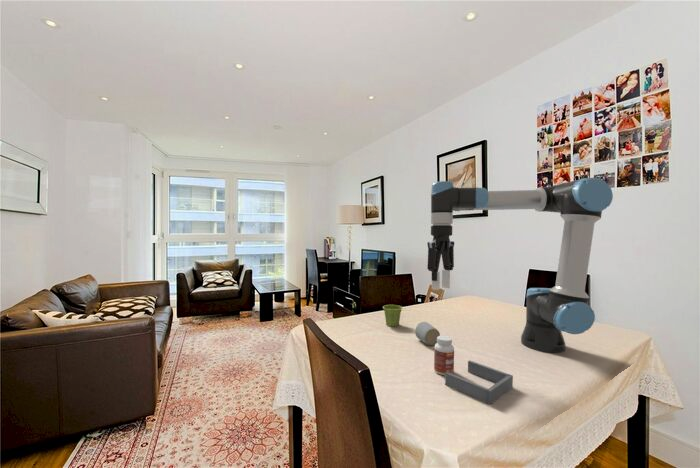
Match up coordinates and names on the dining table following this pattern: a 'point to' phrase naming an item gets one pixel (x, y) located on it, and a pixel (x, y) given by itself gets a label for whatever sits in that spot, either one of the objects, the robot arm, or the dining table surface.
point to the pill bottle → (444, 355)
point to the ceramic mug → (427, 333)
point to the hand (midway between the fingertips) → (440, 288)
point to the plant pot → (392, 314)
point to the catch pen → (479, 392)
